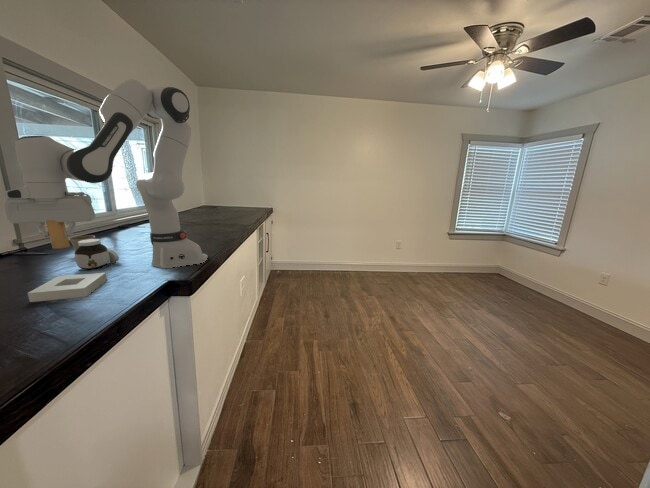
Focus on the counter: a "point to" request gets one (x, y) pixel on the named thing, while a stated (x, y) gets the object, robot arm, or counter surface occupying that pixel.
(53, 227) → the amber upright block
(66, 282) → the housing
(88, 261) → the spread jar
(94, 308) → the counter surface
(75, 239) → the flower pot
